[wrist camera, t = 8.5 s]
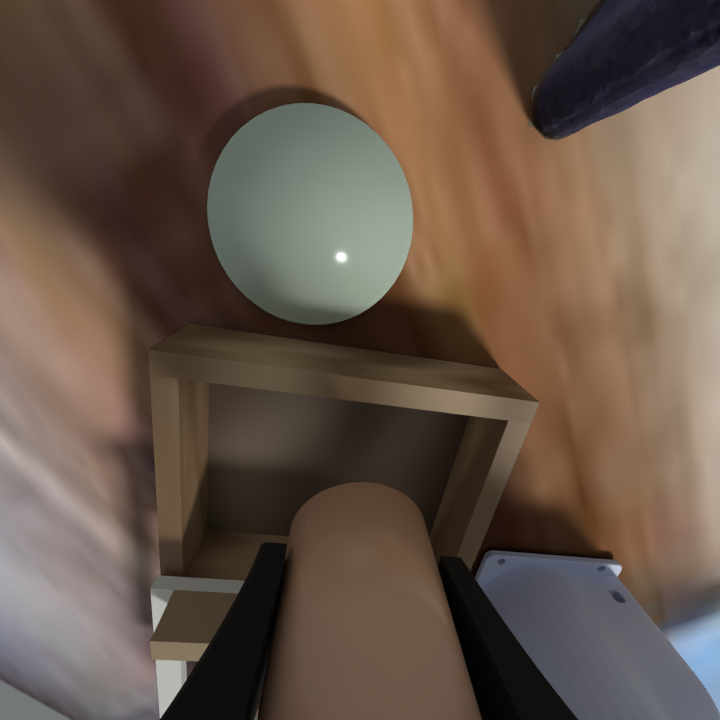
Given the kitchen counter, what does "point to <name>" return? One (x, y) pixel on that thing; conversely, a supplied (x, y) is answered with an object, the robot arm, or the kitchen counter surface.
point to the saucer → (310, 213)
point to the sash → (185, 625)
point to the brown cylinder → (363, 617)
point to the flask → (624, 60)
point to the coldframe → (319, 441)
